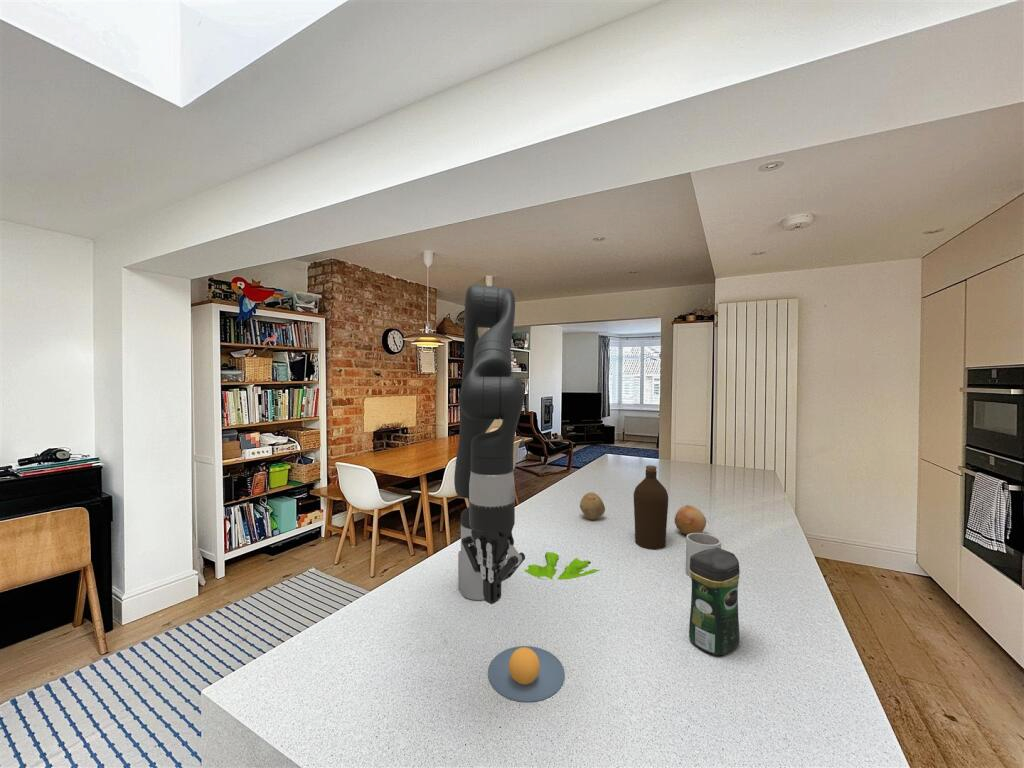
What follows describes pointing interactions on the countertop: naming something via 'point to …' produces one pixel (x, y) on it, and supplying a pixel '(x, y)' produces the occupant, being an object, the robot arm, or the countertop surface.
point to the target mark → (537, 690)
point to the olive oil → (650, 511)
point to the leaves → (550, 571)
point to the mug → (699, 545)
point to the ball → (524, 666)
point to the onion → (690, 520)
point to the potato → (592, 506)
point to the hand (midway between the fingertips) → (491, 600)
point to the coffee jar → (714, 601)
